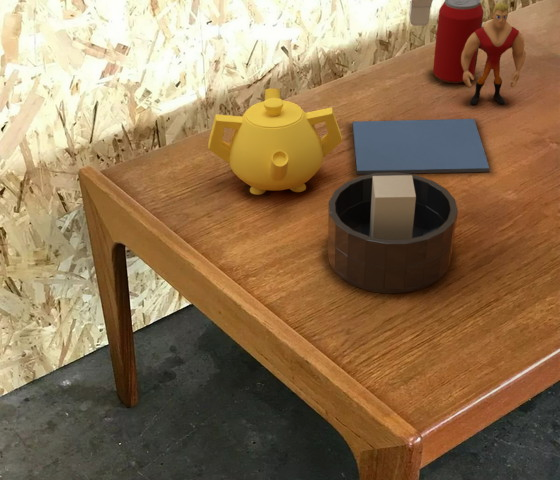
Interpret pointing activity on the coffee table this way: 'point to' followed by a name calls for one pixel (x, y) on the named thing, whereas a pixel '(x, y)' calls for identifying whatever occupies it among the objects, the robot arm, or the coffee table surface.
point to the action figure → (494, 51)
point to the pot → (390, 253)
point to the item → (392, 207)
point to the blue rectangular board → (418, 146)
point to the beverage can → (455, 38)
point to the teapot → (275, 143)
